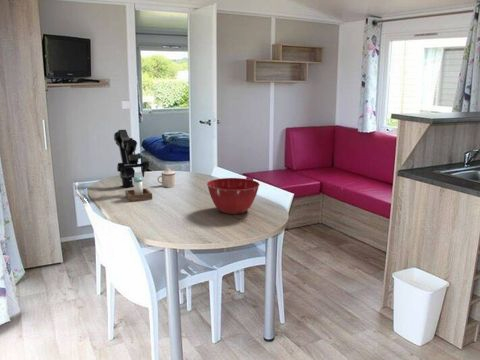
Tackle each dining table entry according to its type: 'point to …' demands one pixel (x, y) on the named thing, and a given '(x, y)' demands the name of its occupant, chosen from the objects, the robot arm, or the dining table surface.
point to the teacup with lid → (167, 178)
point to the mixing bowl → (233, 194)
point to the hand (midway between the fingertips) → (135, 177)
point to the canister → (138, 186)
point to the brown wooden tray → (132, 197)
